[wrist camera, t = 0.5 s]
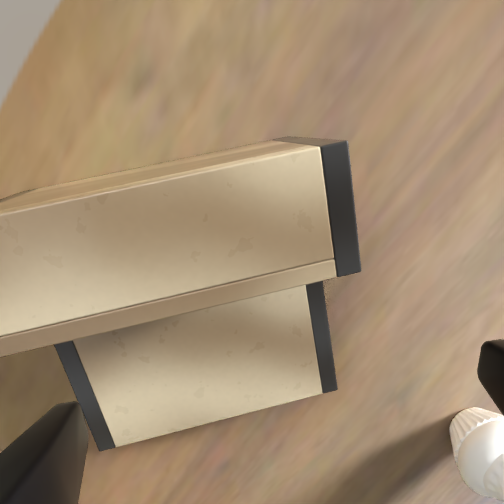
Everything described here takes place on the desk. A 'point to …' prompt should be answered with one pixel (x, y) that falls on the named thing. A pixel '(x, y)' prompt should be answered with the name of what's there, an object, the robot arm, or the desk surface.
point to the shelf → (183, 283)
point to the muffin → (480, 450)
